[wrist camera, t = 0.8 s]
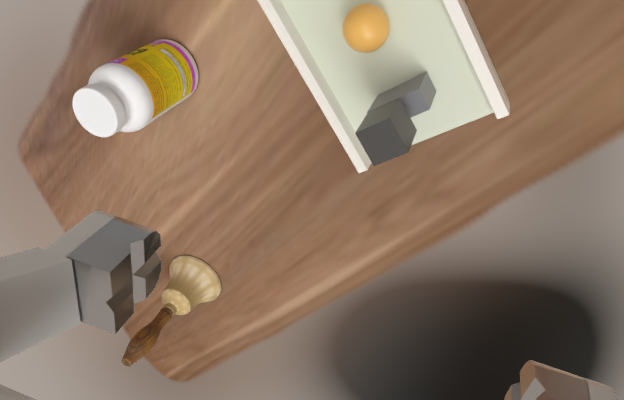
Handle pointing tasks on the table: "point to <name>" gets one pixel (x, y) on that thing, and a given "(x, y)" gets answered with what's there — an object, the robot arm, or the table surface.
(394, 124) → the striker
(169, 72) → the supplement bottle
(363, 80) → the tray
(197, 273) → the hand bell
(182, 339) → the table surface
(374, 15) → the ball
